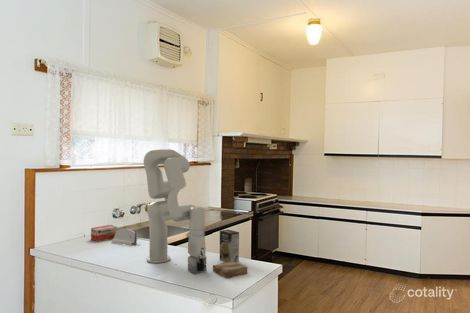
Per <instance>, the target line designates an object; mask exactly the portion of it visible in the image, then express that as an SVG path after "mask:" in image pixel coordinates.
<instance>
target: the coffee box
mask: <svg viewBox="0 0 470 313" xmlns="http://www.w3.org/2000/svg"><path fill="white" fill-rule="evenodd" d="M239 259H240V232H239V231H235V230H232V229H223V230H220V231H219V261H220V262H223V263H227V262H231V261H234V262H236V263H239V262H240V260H239Z"/></svg>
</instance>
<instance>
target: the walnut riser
mask: <svg viewBox="0 0 470 313" xmlns="http://www.w3.org/2000/svg"><path fill="white" fill-rule="evenodd" d="M212 272H213V273H214V274H216V275H219V276H221V277H223V278H225V279H231V278H234V277H239V276H244V275H247V274H248V266H246V265H242V264H240V263H239V262H237V263H236V262H234V261H231V262H227V263H226V262H223V263H218V264H213V265H212Z"/></svg>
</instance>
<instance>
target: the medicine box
mask: <svg viewBox="0 0 470 313" xmlns="http://www.w3.org/2000/svg"><path fill="white" fill-rule="evenodd" d="M117 230H118V226H117V225H114V224H107V225H102V226H101V225H100V226H97V227H96V226H95V227H91V229H90V239H91V241H94V242H100V241H106V240H111V239H112V240H113V239H114V236H115V234H116V231H117Z"/></svg>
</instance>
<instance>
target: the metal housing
mask: <svg viewBox="0 0 470 313" xmlns="http://www.w3.org/2000/svg"><path fill="white" fill-rule="evenodd" d="M200 256H201V255H200ZM201 258H202V257H200V259H201ZM197 263H198V258H196V257H194V256H190V255H189V256H187V271H188V272H190V273H191V274H193V275H196V274H201V273H205V272H207V258H206V259H205V261H204V270H203V271H197Z"/></svg>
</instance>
